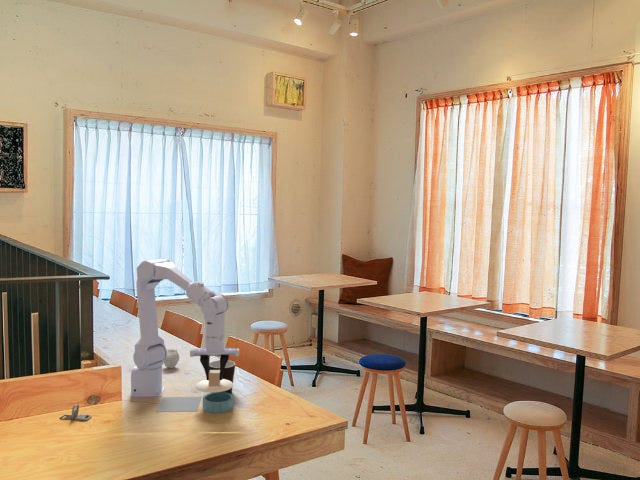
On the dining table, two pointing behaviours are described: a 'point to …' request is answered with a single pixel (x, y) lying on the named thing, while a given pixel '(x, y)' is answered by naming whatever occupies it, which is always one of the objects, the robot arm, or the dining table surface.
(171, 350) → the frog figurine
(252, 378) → the dining table surface
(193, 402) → the mat
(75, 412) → the strap clip
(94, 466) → the dining table surface
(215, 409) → the bowl
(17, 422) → the dining table surface
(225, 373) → the coffee mug
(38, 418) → the dining table surface
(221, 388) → the lid
